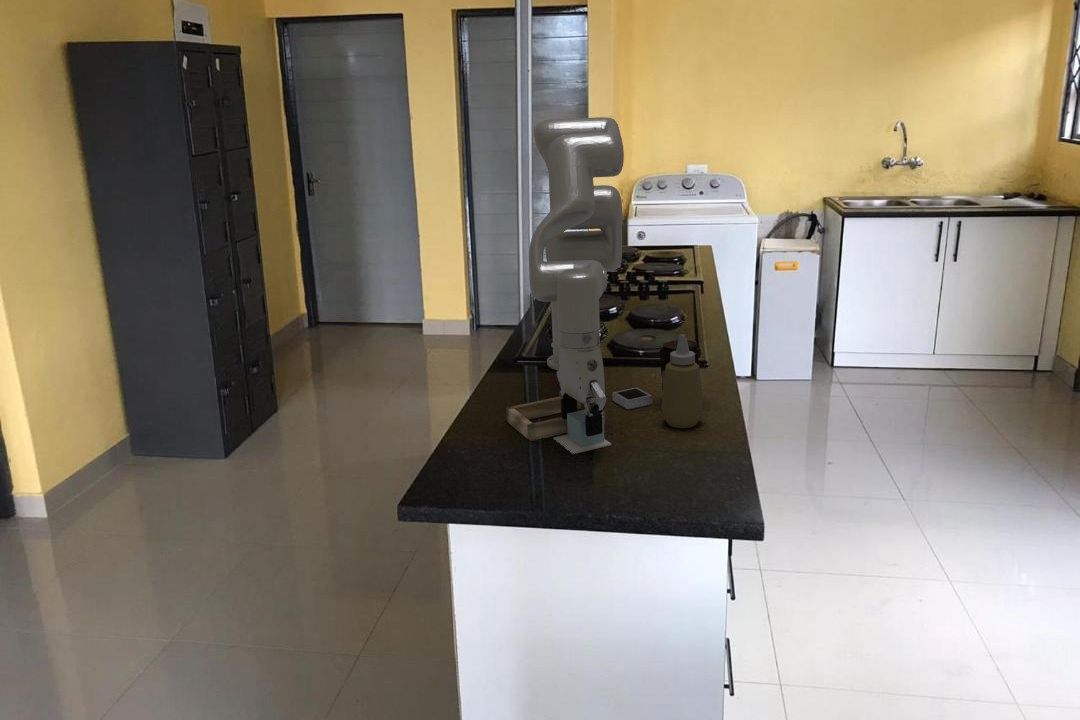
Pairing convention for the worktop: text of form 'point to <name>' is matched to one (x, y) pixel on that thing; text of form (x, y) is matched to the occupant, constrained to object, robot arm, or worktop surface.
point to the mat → (574, 447)
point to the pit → (632, 398)
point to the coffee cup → (672, 346)
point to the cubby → (538, 430)
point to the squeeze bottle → (682, 388)
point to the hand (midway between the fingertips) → (581, 425)
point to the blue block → (581, 429)
